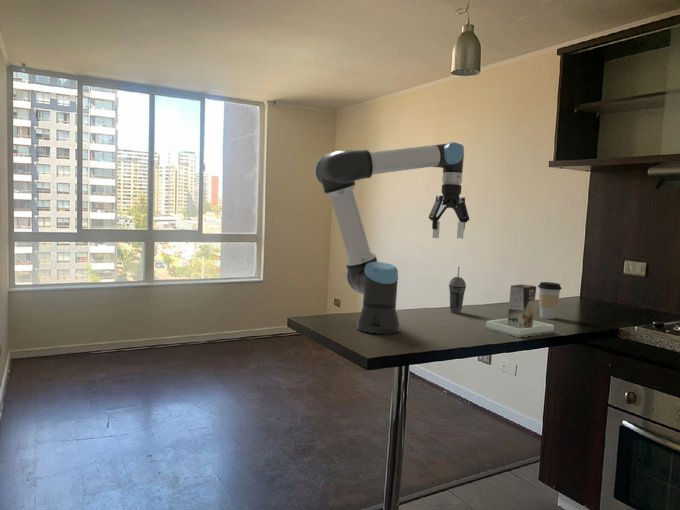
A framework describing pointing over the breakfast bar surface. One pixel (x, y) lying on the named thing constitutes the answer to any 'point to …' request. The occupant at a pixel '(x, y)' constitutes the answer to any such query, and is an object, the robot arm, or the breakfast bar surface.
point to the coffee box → (521, 306)
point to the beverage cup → (456, 294)
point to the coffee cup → (548, 299)
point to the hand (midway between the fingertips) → (448, 238)
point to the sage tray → (502, 327)
